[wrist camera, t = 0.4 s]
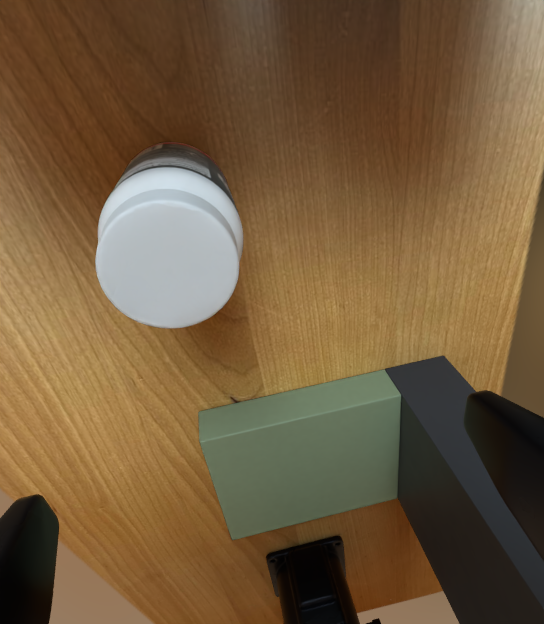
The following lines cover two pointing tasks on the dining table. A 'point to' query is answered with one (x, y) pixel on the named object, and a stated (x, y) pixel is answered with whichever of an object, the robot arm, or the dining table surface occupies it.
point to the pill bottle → (169, 238)
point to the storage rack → (380, 477)
